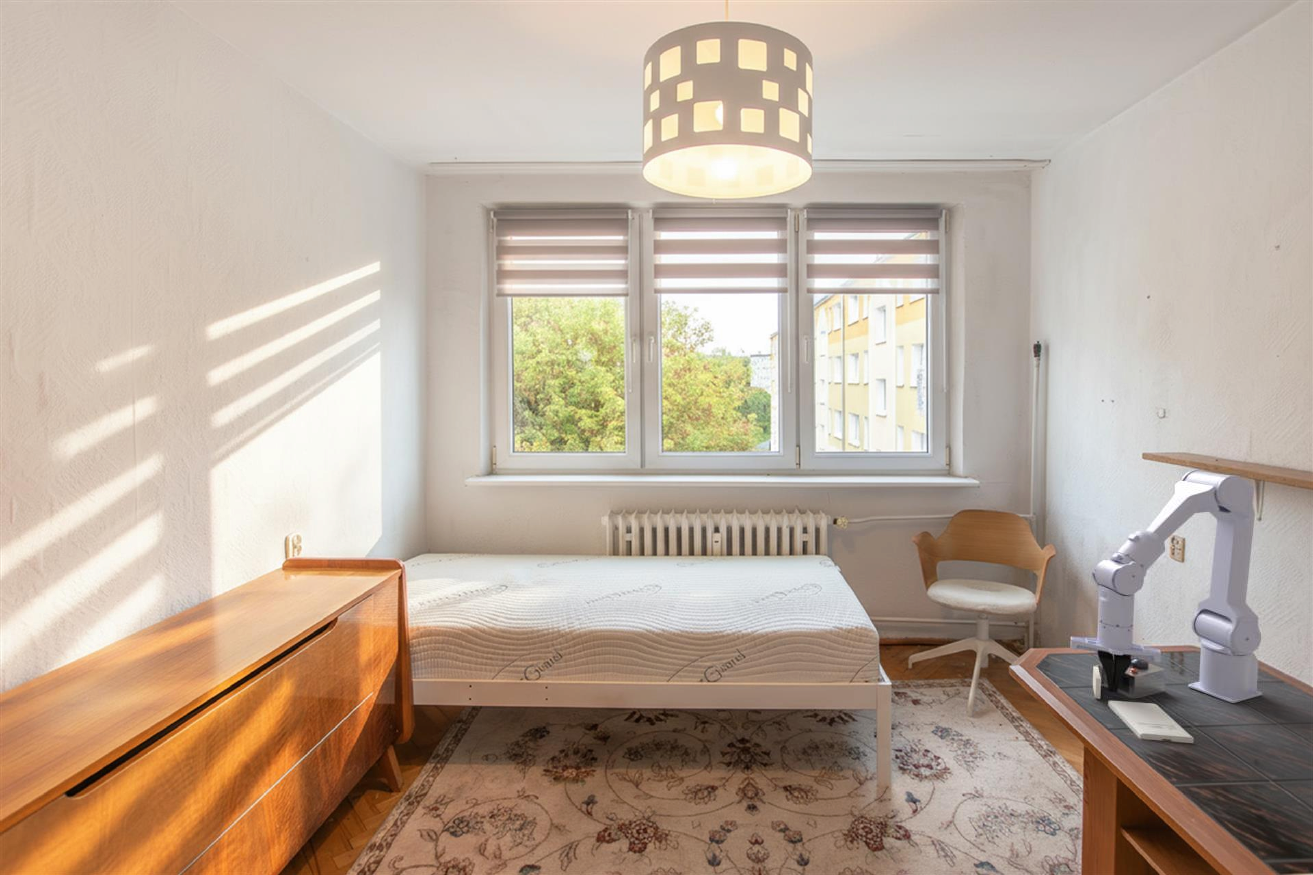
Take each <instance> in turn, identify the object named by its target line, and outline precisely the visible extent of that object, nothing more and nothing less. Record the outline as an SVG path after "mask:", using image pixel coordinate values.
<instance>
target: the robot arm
mask: <svg viewBox="0 0 1313 875" xmlns="http://www.w3.org/2000/svg"><path fill="white" fill-rule="evenodd" d="M1254 492H1255V487H1254V486H1253V485H1252V484H1251V483H1250V482H1249V481H1247V480H1246V479H1245V478H1243V477H1242V476H1240V475H1235V474H1233V475H1231V474H1222V473H1216V472H1209V471H1203V470H1200V469H1193V470H1189V471H1187V472H1186V473H1185V474H1184V475H1183V476H1182V477H1181V479H1180V480H1179V481H1177V483H1175V484H1174V494H1173V496H1172V497H1171V498H1170V499H1169V501H1168V502H1167V503H1166V504H1165V506H1164V507H1163V508H1162V509H1161V511H1160V512H1159V514H1157V516H1156V517H1155V519H1154V520H1152V522H1151V523H1150V525H1149V526H1148V527H1147V529H1145V530H1137V531H1134V532H1133V533H1130V534H1129V535H1128V537H1127V540H1126V541H1125V542H1124V543H1123V544H1122V545H1121V546H1120V548H1119V549H1118V550H1117V551H1116V552H1115V553H1113V555H1112V556H1111V557H1110V558H1108V559H1106V560H1105V559H1103V560H1102V561H1100V562H1099V563H1098V564H1097V565H1096V566H1095V568H1094V571H1091V577H1092V580H1093V582H1094V583H1095V584H1096V592H1097V593H1098V606H1097V607H1098V609H1097V610H1098V611H1097V632H1096V634H1097V635H1096V636H1097V637H1078V636H1070V649H1071V650H1076V651H1077V650H1083V651H1089V652H1097V656H1098V660H1099V662H1100V663H1101V664H1102V666H1103V668H1104V671H1105V674H1106V677H1107V682H1108V688H1107V689H1108V692H1111V693H1116V694H1117V693H1118V687H1119V684H1120V682H1121V679H1122V677H1123V675H1124V674H1125V672H1126V671H1127V670H1128V668H1129V667H1130V665H1131V663H1132V660H1131V657H1133V658H1139V659H1143V660H1150V661H1153V662H1155V663H1161V661H1162V652H1161V650H1160V649H1159V648H1154V647H1148V646H1145V645H1140V644H1135V643H1133V638H1134V637H1133V635H1134V615H1135V614H1134V612H1135V611H1134V610H1135V594H1136V593H1138V592H1139V591H1140V590H1142V588H1143V586H1144V584H1145V583H1144V581H1145V577H1146V576H1147V572H1148V570H1149V569H1150V568H1152V566H1153V564H1155V563H1156V561H1158V559H1159V558H1160V557H1161V556H1162V555H1163V554H1164V553H1165V552H1166V545H1165V541H1166V540H1168V539H1169V538H1170V537H1171V536H1172V535H1173V534H1174V533H1175V532H1176V531H1177V530H1178V529H1179V528H1180V527H1182V526H1183V525H1184V524H1185V523H1186V522H1187V521H1189V519H1191V518H1193V516H1194V515H1195V514H1200V513H1201V514H1202V513H1210V514H1211V515H1212V517H1214V518H1215V519H1216V526H1215V538H1214V546H1213V547H1214V548H1213V558H1212V568H1211V577H1210V587H1209V596H1207V597H1206V598H1204V599H1202V600H1200V601H1198V602H1197V609H1196V612H1195V613H1194V615H1193V616H1192V619H1191V629H1192V631H1193V633H1194V634H1195V635H1196V636H1197V637H1198V638H1197V639H1198V640H1197V641H1198V642H1199V643H1200V657H1199V658H1200V659H1199V662H1200V663H1199V681H1196V682H1191V683H1188V686H1187V687H1188V688H1191V689H1193V690H1196V691H1199V692H1202V693H1204V694H1207V695H1209V696H1212V697H1215V698H1218V699H1221V700H1223V701H1226V702H1228V703H1232V704H1235V703H1238V702H1242V701H1245V700H1249V699H1253V698H1256V697H1260V696H1263V692H1261V691H1260V690H1257V689H1258V688H1257V687H1258V675H1259V674H1258V673H1259V661H1258V658H1257V656H1256V654H1255V653H1254V652H1255V651H1256V650H1257V649H1258V648H1259V647H1260V645H1261V642H1262V634H1261V630H1260V628H1259V616H1258V615H1257V614H1256V613H1255V611H1254V610H1253V609H1252V608H1251V607H1250V606H1249V605H1248V604H1247V593H1248V592H1247V591H1248V584H1249V574H1250V563H1251V554H1252V545H1253V536H1254V535H1253V534H1254V527H1255V526H1254V524H1255V516H1256V514H1255V508H1254V505H1253V501H1254V499H1253V498H1254ZM1113 669H1114V671H1113Z"/></svg>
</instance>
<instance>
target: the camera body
mask: <svg viewBox="0 0 1313 875" xmlns="http://www.w3.org/2000/svg"><path fill="white" fill-rule="evenodd" d="M1131 660H1132V663H1131V665H1130V667H1129V668H1128V670H1127V671H1126V672H1125V674H1124V675H1123V677H1122V679H1121V682H1120V684H1119V687H1118V692H1117V693H1118V694H1120V695H1122V696H1125V697H1128V698H1130V699H1132V700H1136V699H1141V698H1144V697H1148V696H1152V695H1155V694H1160V693H1164V692H1165V690H1166V689H1165V688H1166V674H1167V672H1166V669H1165V668H1162V667H1159V666H1158V665H1155V664H1152V663H1150V662H1149V661H1147V660H1146V659H1142V658H1135V657H1131ZM1099 665H1100V666H1101V672H1100V677H1101V687H1103V686H1104V688H1106V689H1108V682H1107V677H1106V674H1105V671H1104V668H1103V666H1102V664H1101V662H1100V663H1099ZM1113 671H1114V669H1113Z"/></svg>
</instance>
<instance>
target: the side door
mask: <svg viewBox="0 0 1313 875" xmlns="http://www.w3.org/2000/svg"><path fill="white" fill-rule="evenodd" d="M1092 668H1093V670H1092V689H1093V693H1094V698H1095V699H1099V700H1101V693H1102V692H1101V690H1102V686H1101V677H1100V672H1101V666H1100V664H1096V665H1094V666H1092Z"/></svg>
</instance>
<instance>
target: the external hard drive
mask: <svg viewBox="0 0 1313 875" xmlns="http://www.w3.org/2000/svg"><path fill="white" fill-rule="evenodd" d="M1107 703H1108V704H1107V706H1108V707H1109V708H1110V709H1111V711H1113V713H1115V714H1116V716H1117V717H1118V716H1119V717H1118V718H1119V719H1122V720H1121V721H1122V722H1123V723H1124V724H1125V725H1126V726H1127V727H1128V728H1129V729H1130V730H1131V731H1132V732H1133V733H1134V735H1136V736H1137V737H1138V739H1139V740H1148V741H1149V740H1152V741H1167V742H1174V743H1186V744H1194V742H1195V741H1194V740H1195V738H1194V737H1193V736H1192V735H1191V734H1189V733H1188V732H1187V731H1186V729H1184V728H1183V727H1182V726H1181V725H1180V724H1179V723H1177V721H1175V720H1174V719H1173V718H1172V717H1171V716H1170V715H1169V714H1168V713H1166V712H1165V711H1164V710H1163V709H1162V708H1161V707H1159V706H1158V704H1156V703H1149V702H1147V703H1146V702H1136V701H1135V702H1134V701H1122V700H1108V702H1107Z"/></svg>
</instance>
